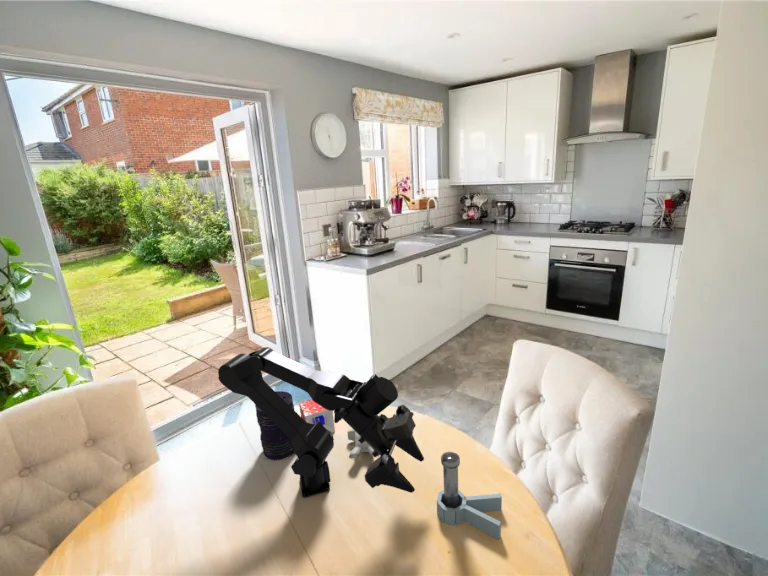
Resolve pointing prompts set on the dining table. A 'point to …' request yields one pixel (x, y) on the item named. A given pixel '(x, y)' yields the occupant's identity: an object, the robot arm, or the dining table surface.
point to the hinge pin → (450, 478)
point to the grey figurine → (358, 445)
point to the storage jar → (274, 433)
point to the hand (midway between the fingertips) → (418, 474)
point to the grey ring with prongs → (472, 512)
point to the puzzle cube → (316, 414)
